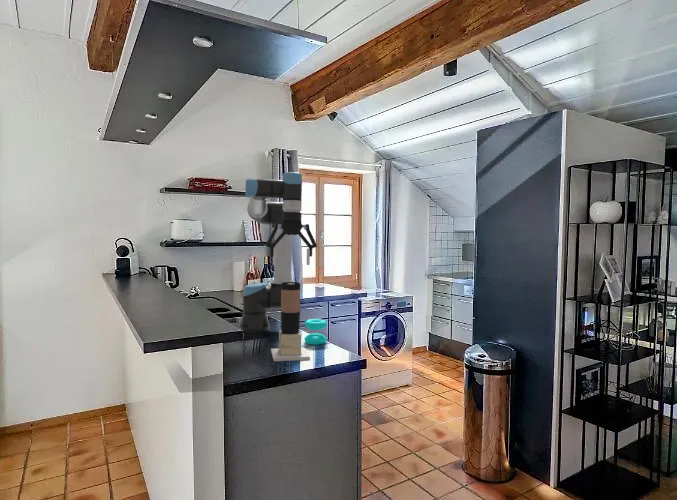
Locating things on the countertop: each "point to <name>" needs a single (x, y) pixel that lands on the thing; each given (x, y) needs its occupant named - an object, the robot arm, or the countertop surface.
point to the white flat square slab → (279, 357)
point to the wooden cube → (289, 344)
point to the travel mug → (290, 307)
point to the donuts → (315, 337)
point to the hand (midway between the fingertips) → (291, 264)
